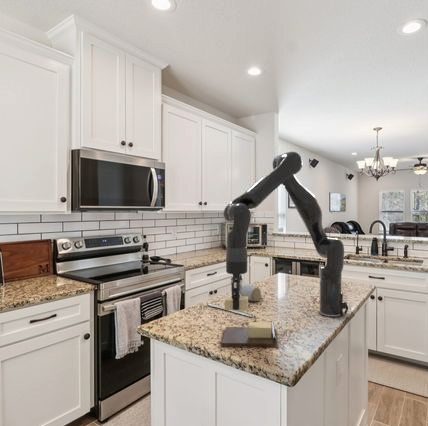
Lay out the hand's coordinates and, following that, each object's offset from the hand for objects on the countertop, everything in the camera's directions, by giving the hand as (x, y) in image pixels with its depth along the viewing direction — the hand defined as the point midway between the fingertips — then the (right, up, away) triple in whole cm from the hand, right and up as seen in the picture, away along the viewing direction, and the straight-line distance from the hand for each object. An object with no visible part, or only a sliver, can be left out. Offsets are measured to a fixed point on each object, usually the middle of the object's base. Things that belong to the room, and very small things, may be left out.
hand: (236, 306), depth 107 cm
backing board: (+4, -11, 0) cm, 12 cm away
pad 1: (0, 0, 0) cm, 0 cm away
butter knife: (-5, -11, +29) cm, 31 cm away
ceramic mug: (+5, -11, +46) cm, 48 cm away
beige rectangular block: (+8, -10, 0) cm, 13 cm away
